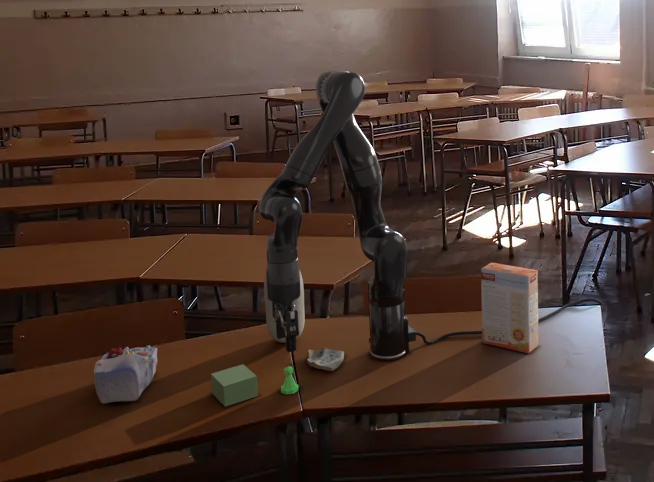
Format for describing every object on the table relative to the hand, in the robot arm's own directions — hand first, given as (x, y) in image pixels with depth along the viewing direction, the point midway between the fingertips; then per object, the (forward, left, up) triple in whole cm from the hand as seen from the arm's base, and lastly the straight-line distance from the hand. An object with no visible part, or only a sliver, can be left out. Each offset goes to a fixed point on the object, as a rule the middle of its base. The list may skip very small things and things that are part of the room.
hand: (286, 344), depth 194 cm
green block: (+12, -4, -12) cm, 17 cm away
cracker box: (-58, +4, -12) cm, 60 cm away
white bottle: (-7, -28, -12) cm, 31 cm away
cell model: (+34, -20, -12) cm, 41 cm away
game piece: (0, 0, -12) cm, 12 cm away
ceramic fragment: (-11, -10, -12) cm, 19 cm away
